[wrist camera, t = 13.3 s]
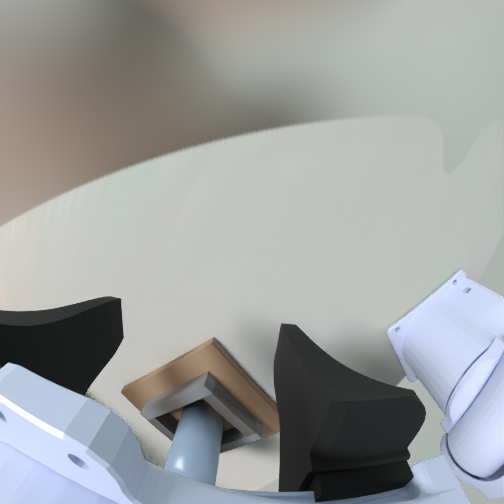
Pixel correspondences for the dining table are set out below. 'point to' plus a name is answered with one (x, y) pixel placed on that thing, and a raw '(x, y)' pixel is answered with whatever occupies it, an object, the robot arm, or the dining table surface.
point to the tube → (197, 443)
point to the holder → (205, 395)
